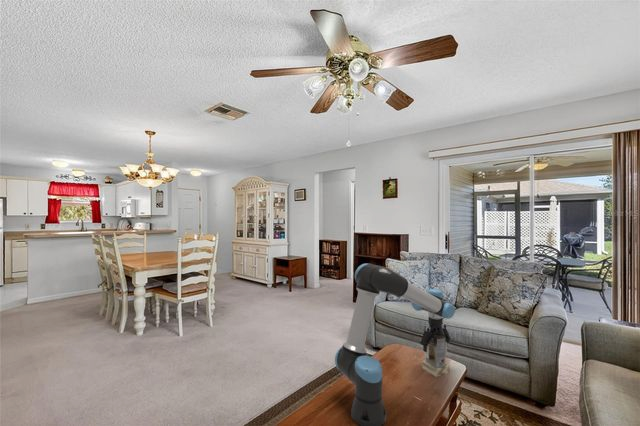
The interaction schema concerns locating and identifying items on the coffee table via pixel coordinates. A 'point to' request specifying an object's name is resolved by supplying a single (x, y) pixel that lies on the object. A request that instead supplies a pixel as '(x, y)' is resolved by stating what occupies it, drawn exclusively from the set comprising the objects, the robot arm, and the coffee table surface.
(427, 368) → the square framed mirror
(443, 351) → the coffee box
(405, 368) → the coffee table surface
